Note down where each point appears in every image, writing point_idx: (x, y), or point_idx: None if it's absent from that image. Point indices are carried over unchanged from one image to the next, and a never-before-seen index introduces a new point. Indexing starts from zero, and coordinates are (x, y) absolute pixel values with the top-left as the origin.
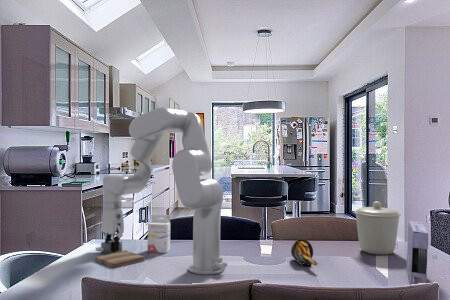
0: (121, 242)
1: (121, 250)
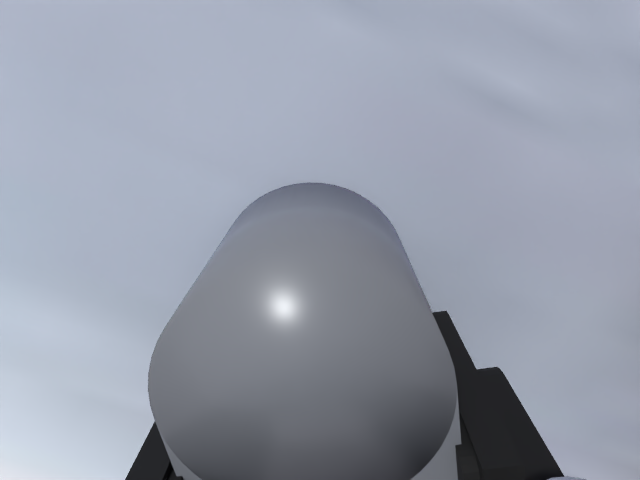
0: (422, 302)
1: (389, 222)
